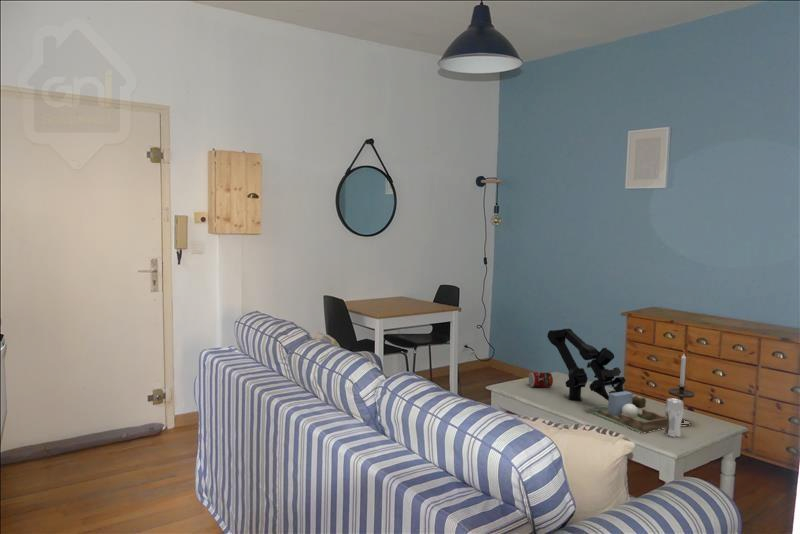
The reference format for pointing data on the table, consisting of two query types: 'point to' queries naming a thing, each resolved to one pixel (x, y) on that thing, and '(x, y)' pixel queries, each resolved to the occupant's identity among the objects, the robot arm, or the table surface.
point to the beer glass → (673, 416)
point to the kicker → (618, 402)
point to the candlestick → (682, 385)
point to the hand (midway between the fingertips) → (616, 399)
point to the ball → (630, 410)
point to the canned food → (540, 379)
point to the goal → (634, 420)
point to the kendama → (635, 399)
